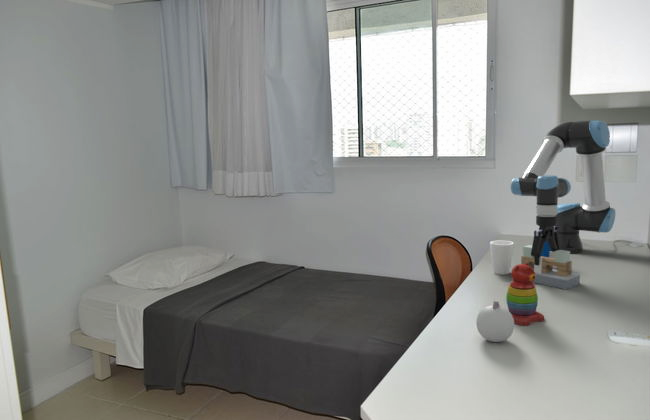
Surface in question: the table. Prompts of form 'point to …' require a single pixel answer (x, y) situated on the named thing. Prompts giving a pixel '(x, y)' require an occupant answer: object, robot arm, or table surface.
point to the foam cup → (501, 256)
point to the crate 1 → (527, 251)
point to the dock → (557, 279)
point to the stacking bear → (523, 296)
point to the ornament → (495, 323)
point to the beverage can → (546, 250)
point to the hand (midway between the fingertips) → (545, 270)
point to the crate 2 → (562, 256)
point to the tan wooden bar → (550, 265)
